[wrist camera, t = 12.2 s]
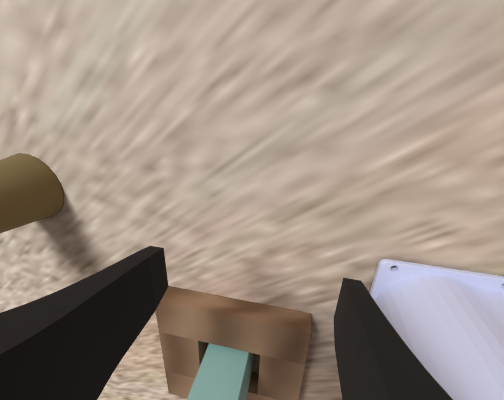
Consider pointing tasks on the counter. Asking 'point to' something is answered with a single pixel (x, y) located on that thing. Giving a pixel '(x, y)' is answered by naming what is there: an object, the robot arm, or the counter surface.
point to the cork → (27, 191)
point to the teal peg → (222, 375)
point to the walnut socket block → (233, 340)
